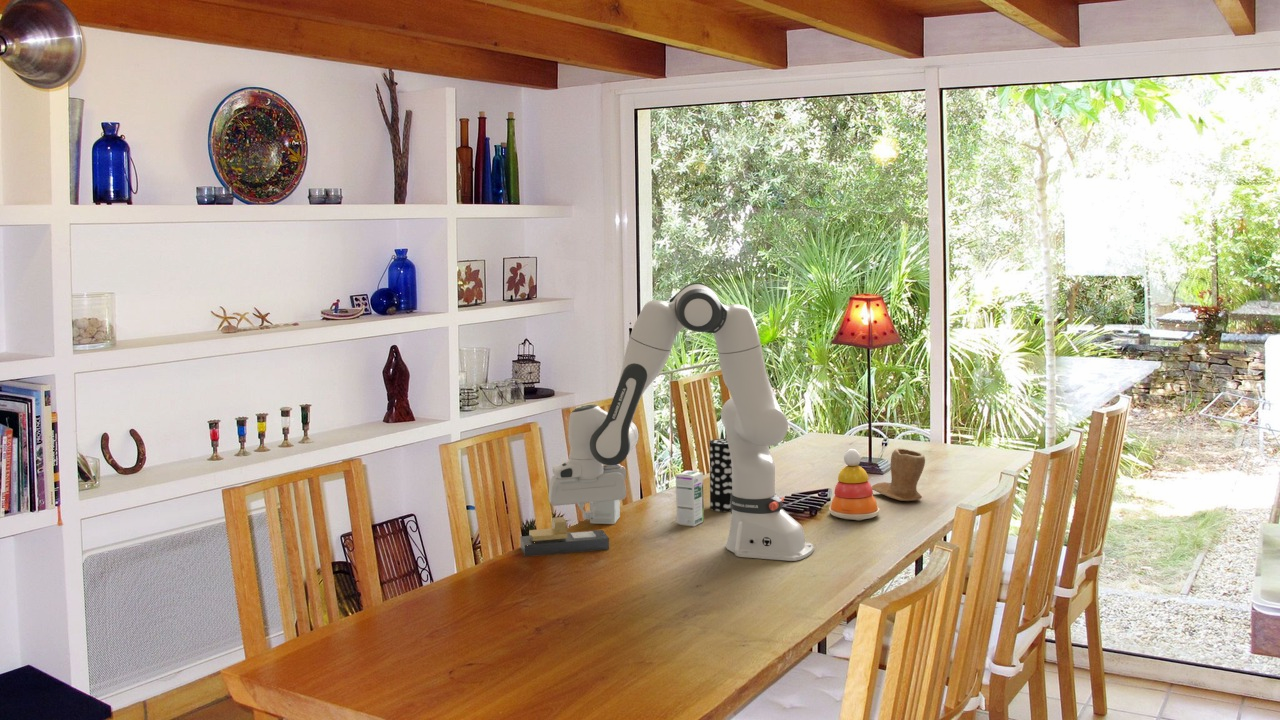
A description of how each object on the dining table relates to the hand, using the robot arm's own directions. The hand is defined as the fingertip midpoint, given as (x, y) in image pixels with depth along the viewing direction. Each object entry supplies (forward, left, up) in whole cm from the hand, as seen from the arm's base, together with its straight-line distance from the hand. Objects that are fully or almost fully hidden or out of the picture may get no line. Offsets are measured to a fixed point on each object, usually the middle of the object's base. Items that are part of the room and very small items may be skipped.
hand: (588, 518), depth 289 cm
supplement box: (+9, -23, -8) cm, 26 cm away
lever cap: (+8, +7, -4) cm, 12 cm away
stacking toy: (-53, -58, -8) cm, 80 cm away
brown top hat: (-60, -84, -8) cm, 104 cm away
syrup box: (-14, -31, -8) cm, 35 cm away
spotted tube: (-16, -50, -8) cm, 54 cm away
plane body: (+5, +5, -7) cm, 10 cm away
